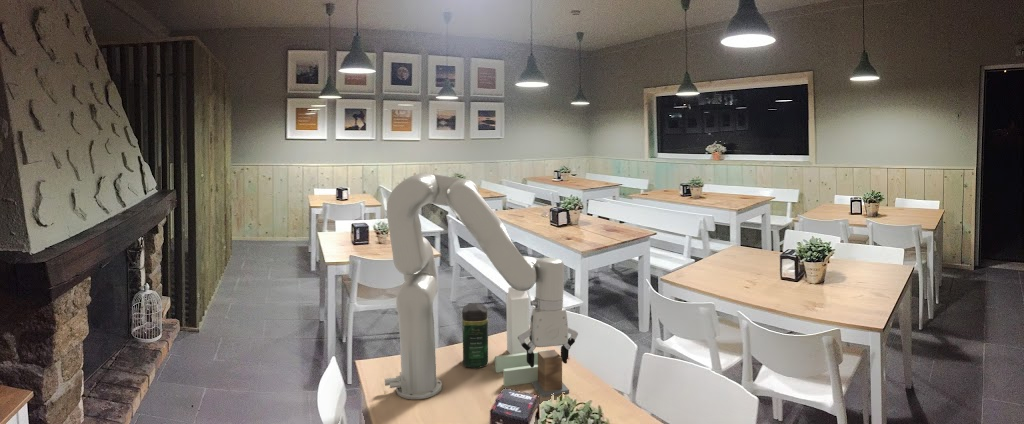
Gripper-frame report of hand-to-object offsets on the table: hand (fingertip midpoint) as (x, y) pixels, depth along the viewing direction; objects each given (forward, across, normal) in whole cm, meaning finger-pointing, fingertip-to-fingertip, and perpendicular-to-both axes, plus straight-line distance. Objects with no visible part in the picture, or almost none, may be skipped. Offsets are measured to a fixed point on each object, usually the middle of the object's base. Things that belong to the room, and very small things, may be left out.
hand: (547, 363), depth 150 cm
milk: (+8, 0, +27) cm, 28 cm away
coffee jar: (+8, -15, +23) cm, 29 cm away
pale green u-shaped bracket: (+7, -3, +10) cm, 13 cm away
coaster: (+7, +1, 0) cm, 7 cm away
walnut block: (+6, +1, 0) cm, 7 cm away
